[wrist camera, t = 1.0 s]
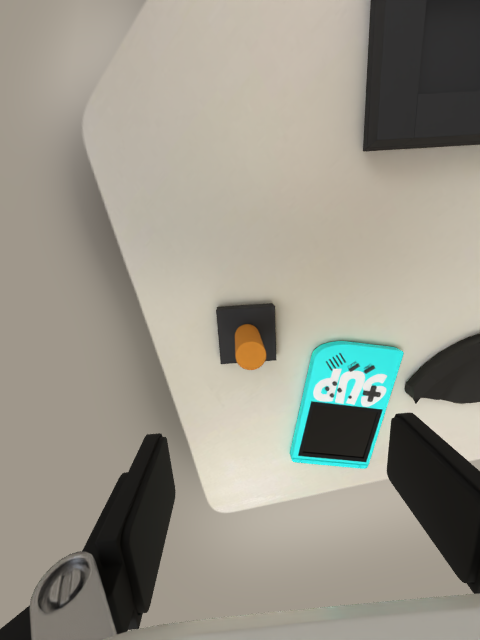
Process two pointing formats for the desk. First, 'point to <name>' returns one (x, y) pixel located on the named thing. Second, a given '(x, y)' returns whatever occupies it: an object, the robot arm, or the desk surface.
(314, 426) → the handheld game console
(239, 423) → the desk surface
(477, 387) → the curved wedge
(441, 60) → the base pad
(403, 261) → the desk surface
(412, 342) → the desk surface
